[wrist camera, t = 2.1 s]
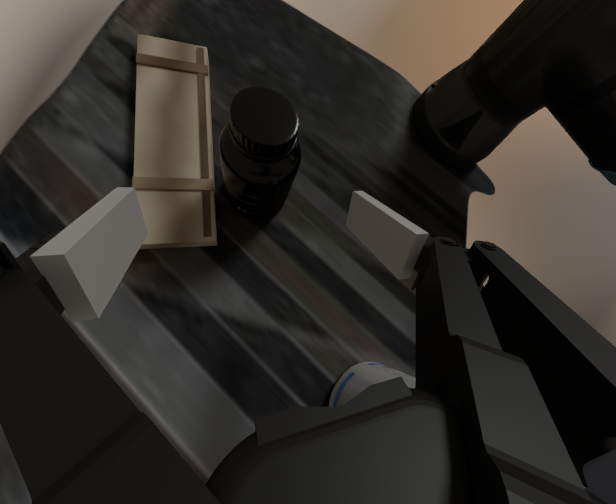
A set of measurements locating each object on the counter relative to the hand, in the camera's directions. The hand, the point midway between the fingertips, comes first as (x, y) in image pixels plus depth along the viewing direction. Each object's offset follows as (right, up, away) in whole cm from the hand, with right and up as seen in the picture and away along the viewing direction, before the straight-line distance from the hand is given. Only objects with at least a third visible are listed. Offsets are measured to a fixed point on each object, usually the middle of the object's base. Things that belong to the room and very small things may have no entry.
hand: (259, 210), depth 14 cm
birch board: (-11, +9, +11) cm, 18 cm away
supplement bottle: (-3, +4, +12) cm, 13 cm away
